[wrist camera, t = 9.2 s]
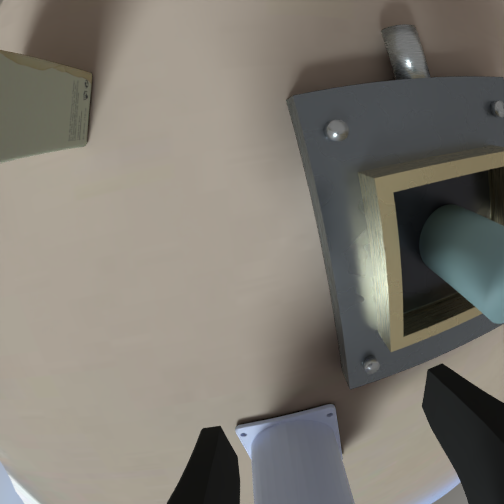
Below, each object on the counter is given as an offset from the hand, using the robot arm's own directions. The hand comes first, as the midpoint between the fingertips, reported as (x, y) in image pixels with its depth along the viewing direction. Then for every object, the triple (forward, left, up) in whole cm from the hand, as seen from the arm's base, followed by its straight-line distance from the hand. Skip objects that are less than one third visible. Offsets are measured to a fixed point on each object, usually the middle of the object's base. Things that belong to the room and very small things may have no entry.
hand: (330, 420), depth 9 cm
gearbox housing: (+3, -9, -10) cm, 14 cm away
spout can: (+1, -9, -8) cm, 12 cm away
